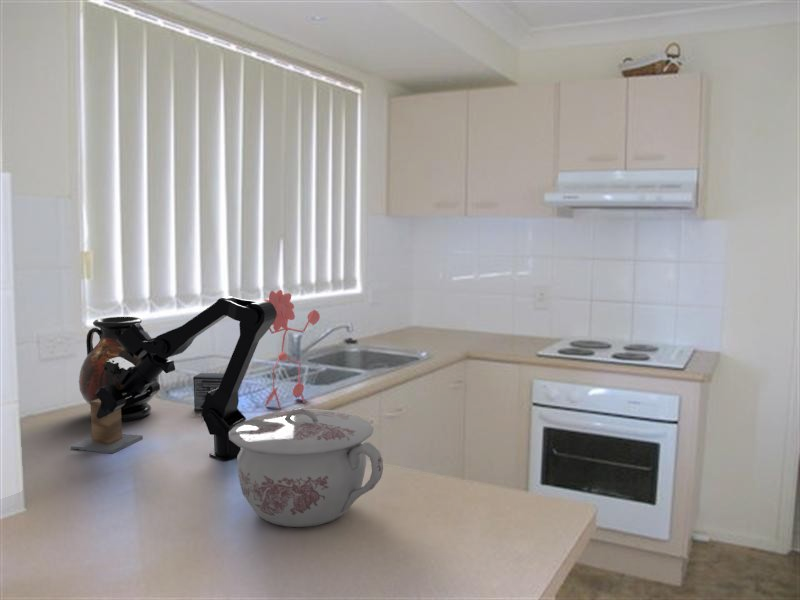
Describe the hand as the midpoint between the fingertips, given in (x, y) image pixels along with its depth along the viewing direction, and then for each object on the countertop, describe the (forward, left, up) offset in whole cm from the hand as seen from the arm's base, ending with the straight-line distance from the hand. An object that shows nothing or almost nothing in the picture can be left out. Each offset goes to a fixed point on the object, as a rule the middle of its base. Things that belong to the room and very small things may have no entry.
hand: (110, 412), depth 177 cm
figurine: (+1, -55, -8) cm, 55 cm away
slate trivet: (+1, 0, -8) cm, 8 cm away
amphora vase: (+23, -15, -8) cm, 28 cm away
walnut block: (+1, 0, -7) cm, 7 cm away
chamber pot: (-68, -5, -8) cm, 69 cm away
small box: (+9, -37, -8) cm, 39 cm away
